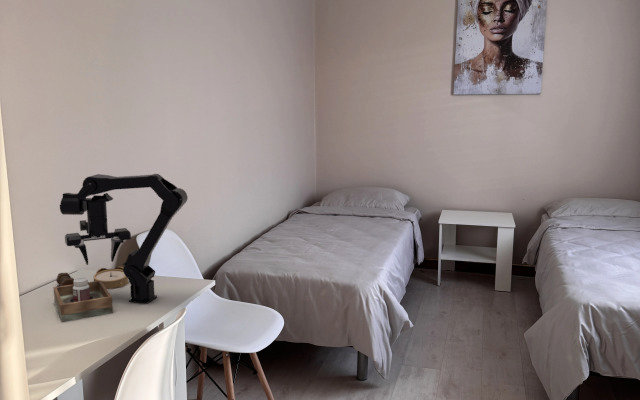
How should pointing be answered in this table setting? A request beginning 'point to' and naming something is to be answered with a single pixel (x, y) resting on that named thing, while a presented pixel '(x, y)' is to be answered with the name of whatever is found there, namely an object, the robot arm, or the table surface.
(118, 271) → the alarm clock
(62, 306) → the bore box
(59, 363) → the table surface
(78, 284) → the pill bottle
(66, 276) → the brown tall rounded piece
